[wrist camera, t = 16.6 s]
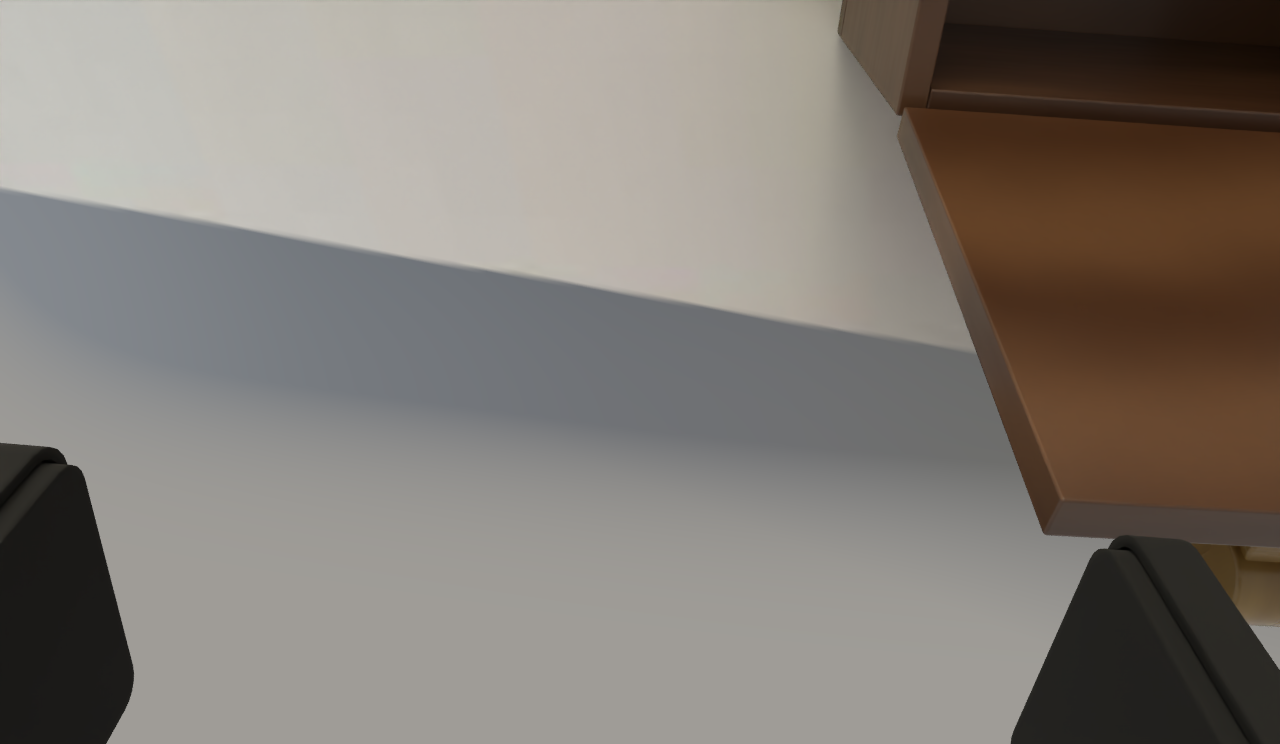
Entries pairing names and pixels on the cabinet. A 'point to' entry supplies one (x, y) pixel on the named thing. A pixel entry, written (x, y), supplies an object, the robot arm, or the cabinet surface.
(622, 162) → the cabinet surface
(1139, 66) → the chest
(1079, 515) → the lid
